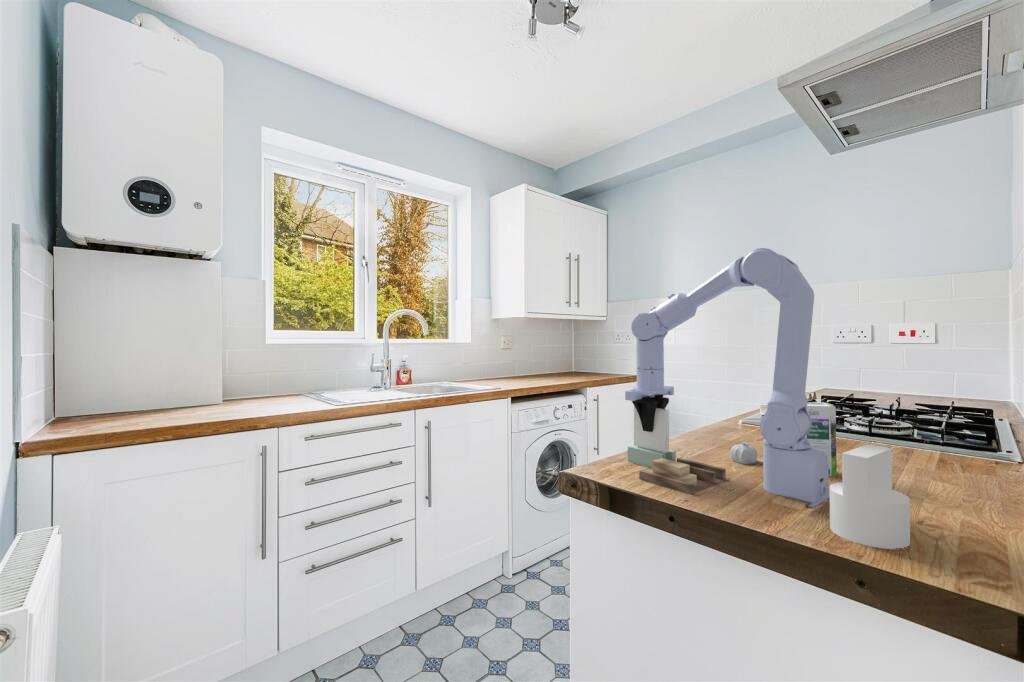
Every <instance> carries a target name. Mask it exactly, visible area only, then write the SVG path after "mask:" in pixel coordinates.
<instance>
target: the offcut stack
mask: <svg viewBox="0 0 1024 682" xmlns="http://www.w3.org/2000/svg"><path fill="white" fill-rule="evenodd" d="M652 471H653V472H652V473H655V474H659V475H662V476H666V477H669V478H673V479H677V480H680V481H684V482H687V483H691V484H694V486H695V485H697V475H694V474H690V465H688V464H684V463H680V462H677V460H676V461H672V460H667V459H663V458H661V459H657V460H654V461H653V468H652Z"/></svg>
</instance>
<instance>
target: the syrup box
mask: <svg viewBox="0 0 1024 682" xmlns="http://www.w3.org/2000/svg"><path fill="white" fill-rule="evenodd" d="M836 409H837V408H836V406H835V405H833V404H831V403H829V402H823V401H822V402H812V401H811V402H810V401H807V411H808V414H809V416H810V418H811V421H812V426H811V430H810V431H809V433H808V434H807V435H806V436H805V437H806V438H807V440H808V441H809V443H810V448H812V449H814V450H817V451H821V452H824V453H825V454H826V456H827V459H828V477H834V478H837V477H838V471H837V469H838V467H837V466H838V465H837V464H838V463H837V425H836V424H837V415H836V414H837V410H836Z"/></svg>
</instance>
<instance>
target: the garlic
mask: <svg viewBox="0 0 1024 682" xmlns="http://www.w3.org/2000/svg"><path fill="white" fill-rule="evenodd" d="M729 455H730V458H731V460H732V461H733V462H735V463H738V464H742V465H747V464H749V465H751V464H752V465H753V464H756V463H757V460H758V450H757V448H755V446H752V445H750V443H748V442H746V441H743V442H742V443H739V444H734V445H733V446H732V447H731V448H730V452H729Z"/></svg>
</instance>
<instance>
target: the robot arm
mask: <svg viewBox="0 0 1024 682" xmlns="http://www.w3.org/2000/svg"><path fill="white" fill-rule="evenodd" d="M755 286H757V287H760V288H761V289H764V290H766V291H767V292H768V293H769V294H770V295H771V296H772V297H773V298H775V300H777V301H778V302H779V304H780V306H779V314H778V315H779V316H778V326H777V338H776V350H775V361H774V368H773V369H774V371H773V381H772V390H771V394H770V396H769V399H768V401H767V407H766V412H765V413H764V415H763V416H762V418H761V419H760V421H759V430H760V431H759V432H760V434H761V436H762V437H763V440H762V449H763V450H762V451H763V453H762V456H763V465H762V467H763V470H762V471H763V489H764V491H766V492H768V493H769V494H773V495H777V496H780V497H787V498H791V499H796V500H801V501H804V502H809V503H808V504H806V505H805V507H808V508H815V507H817V506H819V505H820V504H822V503H823V502H825V501H827V500H828V499H830V487H829V476H828V459H827V456H826V454H825V453H824V452H821V451H817V450H814V449H812V448H810V443H809V441H808V440H807V438H806V437H805V436H806V435H807V434H808V433H809V431H810V430H811V426H812V421H811V418H810V416H809V414H808V411H807V402H808V399H807V395H806V387H807V378H808V377H807V376H808V368H809V367H808V366H809V357H810V356H809V355H810V347H811V346H810V345H811V335H812V334H811V333H812V325H813V324H812V323H813V316H814V315H813V313H814V306H815V305H814V304H815V303H814V302H815V292H814V291H815V290H814V289H813V287H812V286H811V284H810V283H809V282H808V280H807V279H806V278H805V276H804V274H803V273H802V272H801V270H800V269H799V266H798V264H797V263H795V262H794V261H792V259H789V258H788V257H786V256H785V255H782V254H779V253H778V252H775V251H774V250H772V249H770V248H767V247H766V248H765V247H760V248H755V249H752V250H751V251H749V252H748V253H747V254H746V255H745V256H740V257H738V258H736V259H735V260H734V261H732V262H731V263H729V264H728V265H727V266H726V267H724V268H723V269H721V270H720V271H719V272H717V273H716V274H714V275H713V276H711V277H710V278H708V279H707V280H706V281H704V282H703V283H702V284H700V285H698V286H697V287H696V288H694V289H692V290H691V291H690V292H688V293H687V294H686V293H683V292H678V293H677V294H676V293H670V294H669V295H668V296H667V298H668V299H667V300H665V301H664V302H662V303H661V304H660V305H658V306H652V307H651V308H649V313H648V312H639V313H638V314H637V316H635V317H634V319H633V320H632V322H631V327H630V328H631V333H632V335H633V336H634V337H635V339H636V341H635V343H636V344H635V345H636V346H635V347H636V349H635V350H636V351H635V352H636V387H635V386H634V387H633V389H629V390H625V391H624V393H625V394H624V399H625V401H631V403H632V404H633V407H634V406H635V408H636V410H637V412H638V414H639V417H640V420H641V424H642V428H643V431H647V432H653V427H654V416H655V411H656V408H660V409H666V408H667V407H668V404H669V402H670V398H669V397H665V396H674V395H675V388H674V386H671V385H665V368H664V367H665V357H664V356H665V355H664V353H665V352H664V351H665V350H664V339H665V337H666V336H667V334H668V332H670V331H672V330H673V329H675V328H676V327H679V326H680V325H682V324H683V323H685V322H686V321H689V320H690V319H692V318H694V317H695V315H696V313H697V309H698V308H699V307H701V306H702V305H704V304H705V303H707V302H709V301H712V300H713V299H715V298H716V297H718V296H720V295H722V294H724V293H726V292H728V291H729V290H731V289H733V288H736V287H738V288H739V287H740V288H741V287H755Z"/></svg>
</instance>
